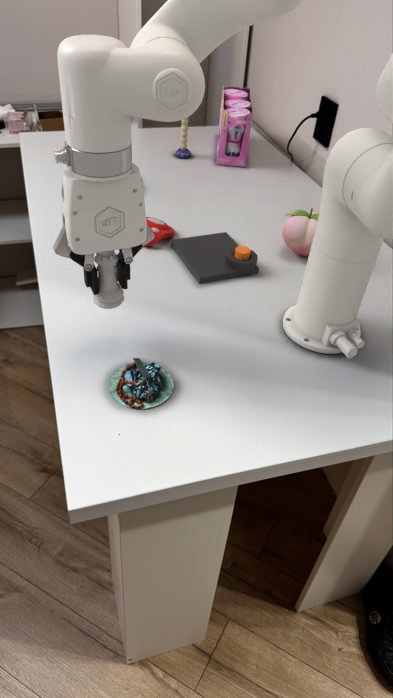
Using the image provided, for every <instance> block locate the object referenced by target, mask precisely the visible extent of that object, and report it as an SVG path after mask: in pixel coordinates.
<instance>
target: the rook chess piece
mask: <svg viewBox="0 0 393 698" xmlns="http://www.w3.org/2000/svg"><path fill="white" fill-rule="evenodd" d="M116 254H117V253H116V251H115V250H112V251H106V252H100V253H95V255H94V263H95V264H97V265H96V269H97V272H98V284H99V293H98V295H94V294H93V293H92V295H93V297H92V301H93V303H94V304H95V305H96V306H97V307H99V308H101V309H104V310H111V309H116V308H119V307H120V306H121V305H122V304H123V303H124V301H125V296H124V293H125V291H124V289H122V288H121V286H120V284H119V282H118V280H117V276H116V270H117V266H116V262H117V261H118V256H117V255H116Z"/></svg>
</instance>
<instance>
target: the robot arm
mask: <svg viewBox="0 0 393 698" xmlns="http://www.w3.org/2000/svg"><path fill="white" fill-rule="evenodd" d="M304 1H305V0H166V1H165V3H163V4H162V6H161V7H159V9H158V10H157V11H156V12H155V13H154V15H152V17H150V18H149V20H147V22H146V23H145V24H144V25H143V26H142V28H141V29H139V31H138V32H137V34H136V35H135V36H134V38H133V40H132V42H131V44H130V46H129V47H127V46H126V44H125V43H124V42H122V41H121V40H120V39H118V38H115V37H113V36H108V35H102V34H79V35H78V34H76V35H72V36H71V35H70V36H67V37H66V38H64V39H63V40H62V41H60V42H59V45H58V48H57V52H56V53H57V58H56V59H57V69H58V79H59V89H60V99H61V109H62V118H63V126H64V128H63V129H64V136H65V141H64V146H63V149H60V150H57V151H56V150H55V151H53V156H54V162H55V164H62V165H65V166H64V168H63V172H62V180H61V219H62V226H61V229H60V231H59V233H58V235H57V236H56V239H55V242H54V244H53V245H52V249H53V251H54V254H55V255H57V256H60V257H62V258H65V259H71V261H73V262H74V263H76V264H77V265H79V266H81V267H82V269H83V280H84V284H85V287H86V288H90V290H91V292H92V295H93V294H94V295H98V293H99V284H98V271H97V269H96V268H97V266H96V264H95V261H94V257H95V254H96V253H100V252H106V251H112V250H114V251H117V250H118V253H115V254H116V255H117V256H118V261H117V262H116V264H115V265H116V266H117V270H116V276H117V281H118V283H119V284H120V287H121V288H122V289H123V290H127V289H128V288H129V287H128V285H129V283H128V281H130V280H131V264H132V263H133V262H134V258H135V256H137V254H138V253H139V252H140V251H141V250H142V249H143V247H144V246H147V245H146V244H147V243H149V242H150V241H152V240H153V239H154V238H155V235H154V234H153V232H152V231H151V229H150V228H149V226H148V225H147V222H146V217H147V213H146V202H145V193H144V186H143V179H142V176H141V172H140V171H141V170H140V168H139V166H137V165H136V164H135V163H134V162H133V143H132V117H133V118H139V119H144V120H149V121H155V122H162V123H173V122H180V121H182V120H183V119H185V118H187V117H189V118H190V116H192V115H193V114H194V113H195V112H196V111H198V109H199V107H200V106H201V104H202V103H203V99H204V97H205V90H206V79H205V75H204V72H203V68H202V66H201V65H200V64H201V63H202V62H203V61H204V60H205V59H206V58H207V57H208V56H209V55H210V54H212V53H213V51H215V49H217V48H218V47H219V46H220V45H222V44H223V43H224V42H225V41H226V40H228V39H229V38H231V37H232V36H234V35H235V34H237V33H239V32H241V31H242V30H244V29H247V28H248V27H250V26H254V25H257V24H261V23H265V22H269V21H272V20H275V19H278V18H280V17H283V16H285V15H287V14H289V13H290V12H291V13H292V12H293V11H294V10H295V9H297V8H298V7H299V6H300V5H301V4H302V3H303V2H304ZM374 101H375V106H376V108H377V110H378V111H379V113H380V114H381V115H382V116H383V117H384V118H385V120H387V122H389V123H390V124H392V125H393V52H391V55H390V57H389V58H388V60H387V62H386V65H385V66H384V67H383V70H382V72H381V74H380V76H379V77H378V81H377V83H376V86H375V93H374ZM324 165H325V166H324V170H323V177H322V189H321V200H320V207H319V212H318V213H319V217H318V222H317V226H316V230H315V234H314V238H313V241H312V245H311V249H310V253H309V255H308V258H307V262H306V266H305V269H304V273H303V276H302V277H303V278H302V282H301V286H300V289H299V294H298V297H297V301H296V304H294V305H291V306H290V307H289V308H287V310H286V311H285V313H284V315H283V319H282V327H283V330H284V332H285V334H286V335H287V336H288V337H289V339H291V340H292V341H293V342H295V343H296V344H297V345H299V346H300V347H303V348H304V349H306V350H309V351H312V352H316V353H320V354H328V355H329V354H330V355H334V354H342V353H343V354H344V356H345V357H346V358H348V359H352V358H354V357H355V356H356V355H357V354H358V352H359V349H361V348H362V349H363V347H364V346H365V344H366V342H365V340H363V339H362V338H361V335H362V334H361V333H362V329H361V326H360V324H361V322H360V321H359V320H358V319H357V316H358V313H359V311H360V308H361V305H362V302H363V299H364V296H365V293H366V291H367V288H368V285H369V282H370V280H371V276H372V273H373V271H374V268H375V265H376V263H377V259H378V257H379V254H380V251H381V248H382V245H383V242H384V240H385V239H386V240H393V136H392V135H391V134H389V133H388V132H385V131H384V130H382V129H379V128H375V127H359V128H355V129H353V130H351V131H349V132H347V133H345V134H344V135H343V136H341V138H339V140H338V141H336V142H335V144H334V145H333V147H332V148H331V150H330V152H329V154H328V156H327V158H326V162H325V164H324Z"/></svg>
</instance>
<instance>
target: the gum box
mask: <svg viewBox="0 0 393 698" xmlns="http://www.w3.org/2000/svg"><path fill="white" fill-rule="evenodd" d="M221 91H222V92H221V99H220V100H221V101H220V110H219V119H218V121H219V122H218V129H217V131H218V132H217V143H216V144H217V145H216V148H217V149H216V165H222V166H231V167H240V168H246V166H247V159H248V153H249V146H250V145H249V144H250V136H251V130H252V123H253V114H254V106H253V102H252V93H251V88H249V87H242V86H241V87H240V86H231V85H223V86H222V90H221Z"/></svg>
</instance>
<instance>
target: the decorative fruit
mask: <svg viewBox="0 0 393 698" xmlns="http://www.w3.org/2000/svg"><path fill="white" fill-rule="evenodd" d="M285 216H289V217H288V218H287V219H286V221H285V222H284V225H283V228H282V236H281V237H282V239H283V242H284V244H285V245H286V246H287V248H288V249H290V251H292V252H293V253H294V254H297V255H298V256H302V257H307V256H309V253H310V249H311V245H312V241H313V238H314V234H315V230H316V226H317V222H318V217H319V212H317V211H314V208H312V207H311V208H310V210H307V209H306V210H304V209H293V210H291V211H289V212H287V213H286V214H285Z"/></svg>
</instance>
